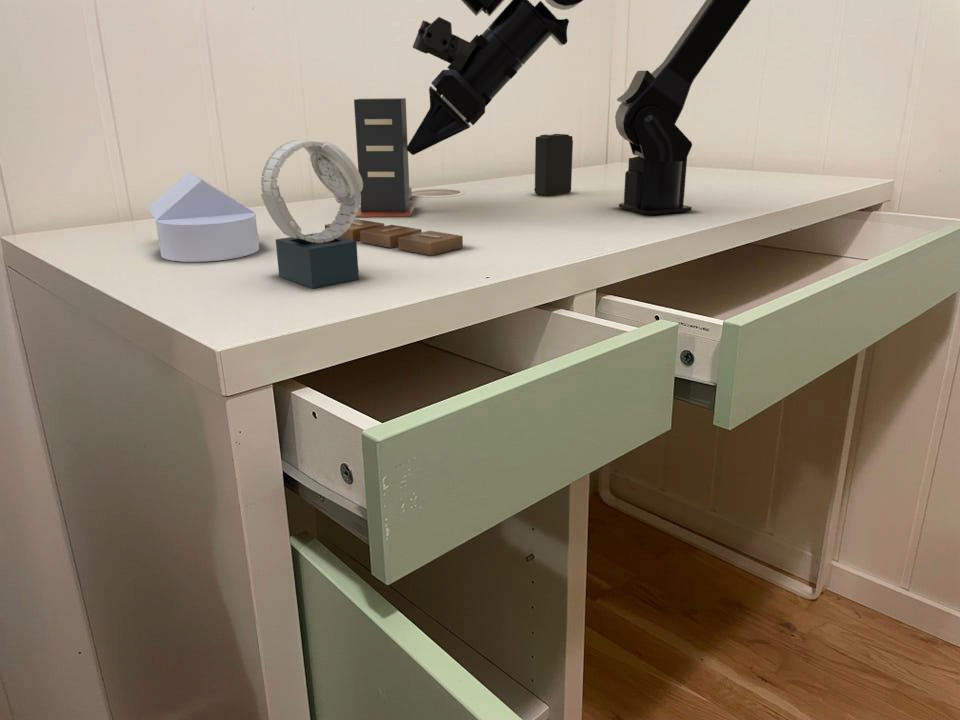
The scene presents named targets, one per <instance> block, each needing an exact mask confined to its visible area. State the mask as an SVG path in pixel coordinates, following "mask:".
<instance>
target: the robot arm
mask: <svg viewBox="0 0 960 720" xmlns="http://www.w3.org/2000/svg"><path fill="white" fill-rule="evenodd" d="M460 1H461V2H462V3H463V4H464V5H465V6H466V7H467V8H468V10H470V12H472V14H474V16H475V17H478V15H480V13H482V12H483V13H484V14H486V15H487V16H488V17H491V15H493V14H494V13H495V12H496V10H497V9H498V8H499V7H500V6H501V5H502V4H503V3H504V1H505V0H460ZM583 1H584V0H545V2H546V3H547V5H549V6H551V7H552V8H554V9H558V10H561V11H562V10H563V11H566V10H570V9H573V8H576V7H577V6H578V5H579V4H581V3H582V2H583ZM750 2H751V0H705V1H704V2H703V3H702V5H701V7H700V8H699V10H698V11H697V12H696V14H695V15H694V16H693V18H692V20H691V21H690V22H689V24H688V26H687V27H686V29H684V31H683V33H682V34H681V36H680V37H679V38H678V40H676V43H675V44H674V45H673V47H672V49H671V50H670V51H669V53H667V56H666V57H665V59H664V60H663V61H662V63H661V64H660V65H658V66H657V67H656V69H655V70H653V71H652V72H650V71H649V70H637V71H636V73H635V74H634V76H633V78H632V80H631V82H630V84H629V87H628V88H627V90H625V92H624V93H623V94H621V96H619V97H617V98H616V101H617V102H619V103H620V104H619V106H618V108H617V109H616V112H615V116H614V119H615V128H616V130H617V132H618V134H619V135H620V137H621V138H622V139H623V140H625V141H627V142H628V143H629V146H630V150H631V153H632V155H633V156H634V157H629V158H628V168H627V170H626V171H625V174H624V190H623V191H624V193H623V194H624V195H623V202H622V203H621V202H620V203H618V208H619V209H624V210H629V211H631V212H635V213H640V214H644V215H649V216H650V215H661V214H671V213H673V214H674V213H682V212H683V213H684V212H691V211H692V209H693V207H692V206H691V205H686V204H685V203H684V202H685V190H686V179H687V164H688V156H689V154H690V151H691V150H692V147H693V142H692V141H691V140H690V139H689V138H688V137H687V136H686V135H685V133H684V132H683V131H682V130H681V129H680V128H679V127H678V126H677V124H676V123H677V121H678V120H679V117H680V115H681V113H682V112H683V109H684V107H685V104H686V101H687V99H688V96H689V92H690V89H691V87H692V84H693V83H694V81H695V79H696V78H697V77H698V75H699V74H700V72H701V71H702V69H703V68H704V67H705V65H706V64H707V63H708V61H709V60H710V59H711V57H712V56H713V54H714V53H715V51H716V50H717V48H718V47H719V45H721V43H722V42H723V40H724V38H725V37H726V36H727V34H728V33H729V32H730V31H731V29H732V27H733V26H734V24H735V23H736V22H737V21H738V19H739V18H740V16H741V15H742V13H743V12H744V10H745V9H746V8H747V6H748V5H749V4H750ZM569 24H570V19H568V18H563V19H562V18H561V19H560V18H559V19H558V18H557V16H556V15H555V14H554V13H553V12H552V11H551V10H550V9H549V8H548V7H547V6H546V5H545V4H544V2H542V0H540V1H538V2H537V4H536V5H534V4H532V2H531V1H530V0H511V1H510V2H509V3H508V4H507V5H506V6H505V7H504V9H502V11H501V12H500V13H499V15H498V16H497V17H495V19H494V20H493V21H492V22H491V24H489V26H488V27H487V28H486V29H485V30H484V31H483V32H482V33H481V34H475V36H474V37H473V38H472V39H471V40H470V41H468V40H465V39H464V38H462V37H459V36H458V35H456V34H453V25H452V22H450V21H449V20H447V19H444V18H442V17H440V16H438V17H437V18H436V19H435V20H433V21H432V22H429V21H427V20H424V19H423V20H422V21H421V24H420V26H419V28H418V30H417V34H416V36H415V40H414V42H413V44H412V49H414V50H416V51H419V52H420V53H423V54H430V55H432V56H433V57H435V58H438V59H440V60H442V61H444V62H447V63H448V64H449V65H448V66H447V67H446V68H447V69H442V70H441V71H440V73H438V75H437V76H436V77H435V78H434V79H433V80H432V81H431V85H432V86H429V88H428V93H429V109H428V111H427V112H426V114H425V115H424V117H423V119H422V121H421V122H420V124H419V126H418V128H417V129H416V131H415V133H414V134H413V136H412V138H411V139H410V140H409V142H408V146H407V150H408V153H409V154H411V155H412V156H414V155H417V154H419V153H421V152H423V151H425V150H426V149H429V148H432V147H433V146H435V145H437V144H439V143H441V142H444V141H445V140H448V139H450V138H451V137H453V136H456V135H458V134H459V133H462V132H464V131H467V130H469V129H470V128H471V126H475V124H477V122H478V121H479V120H480V119H481V118H482V117H483V116H484V115H485V114H486V107H487V106H488V105H489V103H491V101H492V100H493V99H494V98H495V97H496V95H497V94H498V93H499V92H500V91H501V90H502V89H503V88H504V87H505V85H506V84H507V83H508V82H509V81H510V80H512V79H513V78H514V76H515V75H516V74H517V73H518V71H519V70H520V69H521V68H523V66H524V65H525V64H526V63H527V62H528V61H529V60H530V59H531V58H532V56H534V54H535V53H536V52H537V51H538V50H539V49H540V48H541V47H542V46H543V45H544V43H545V42H546V41H547V40H548V39H549V38H550V37H551V38H552V39H553V40H554V41H555V42H556V43H557V44H558V45H559V46H564V45H566V44H567V43H568V26H569Z"/></svg>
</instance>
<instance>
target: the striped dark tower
mask: <svg viewBox="0 0 960 720" xmlns="http://www.w3.org/2000/svg"><path fill="white" fill-rule="evenodd" d="M353 105H354V106H353V107H354V121H355V123H354V125H355V137H356V139H355V140H356V154H357V169H358V171H359V173H360V175H361V178H362V182H363V189H362V191H361V192H360V193H361V204H360V205H359V207H361V212H406V211H407V210H408V209H409V208H410V207H411V198H410V193H409V187H410V173H409V172H410V171H409V169H410V168H409V151H408V150H407V146H408V144H409V142H408V122H407V120H408V119H407V98H405V97H404V98H403V97H402V98H401V97H399V98H397V97H396V98H395V97H394V98H393V97H392V98H391V97H389V98H387V97H386V98H385V97H384V98H381V97H379V98H378V97H377V98H355V99H353Z"/></svg>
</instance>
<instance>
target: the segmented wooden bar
mask: <svg viewBox="0 0 960 720" xmlns="http://www.w3.org/2000/svg"><path fill="white" fill-rule="evenodd" d="M330 224H331V223H326V224H324V230H325V229H326V228H329V225H330ZM340 238H344V239H348V240H352V241H356V242H357V241H360V243H362V244H365V245H366V244H367V245H371V246H378V247H383V248H389V249H392V248H396V247H398V250H400V251H405V252H410V253H414V254H419V255H425V256H431V257H432V256H435V255H440V254H444V253H447V252H452V251H455V250H461V249H463V247H464V243H463V241H464V240H463V235H459V234H454V233H448V232H441V231H436V230H435V231H434V230H426V231H422V229H420V228H415V227H410V226H402V225H398V224H397V225H396V224H388V225H385V223H384V222H377V221H373V220H372V221H371V220H364V219H360V218H359V219H358V218H355V219H354V221H353V223H352V224H351V226H350V227H349V229H348V230H347V231H346V232H345V233H343V235H341V236H340Z"/></svg>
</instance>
